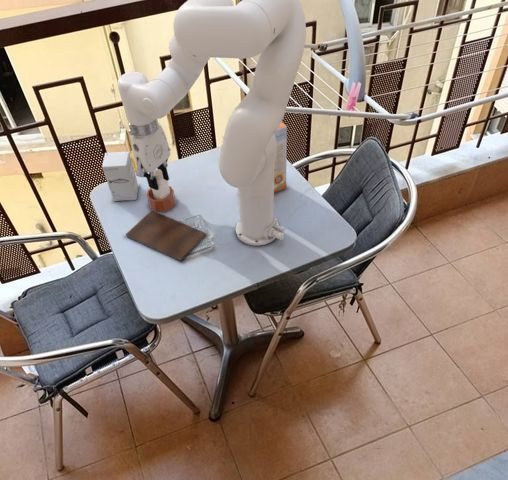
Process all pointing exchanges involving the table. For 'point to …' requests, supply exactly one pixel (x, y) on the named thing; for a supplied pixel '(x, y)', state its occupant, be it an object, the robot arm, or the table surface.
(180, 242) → the walnut board
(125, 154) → the white packaging box
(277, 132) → the cracker box
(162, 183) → the pepper shaker
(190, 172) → the table surface
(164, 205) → the crock
